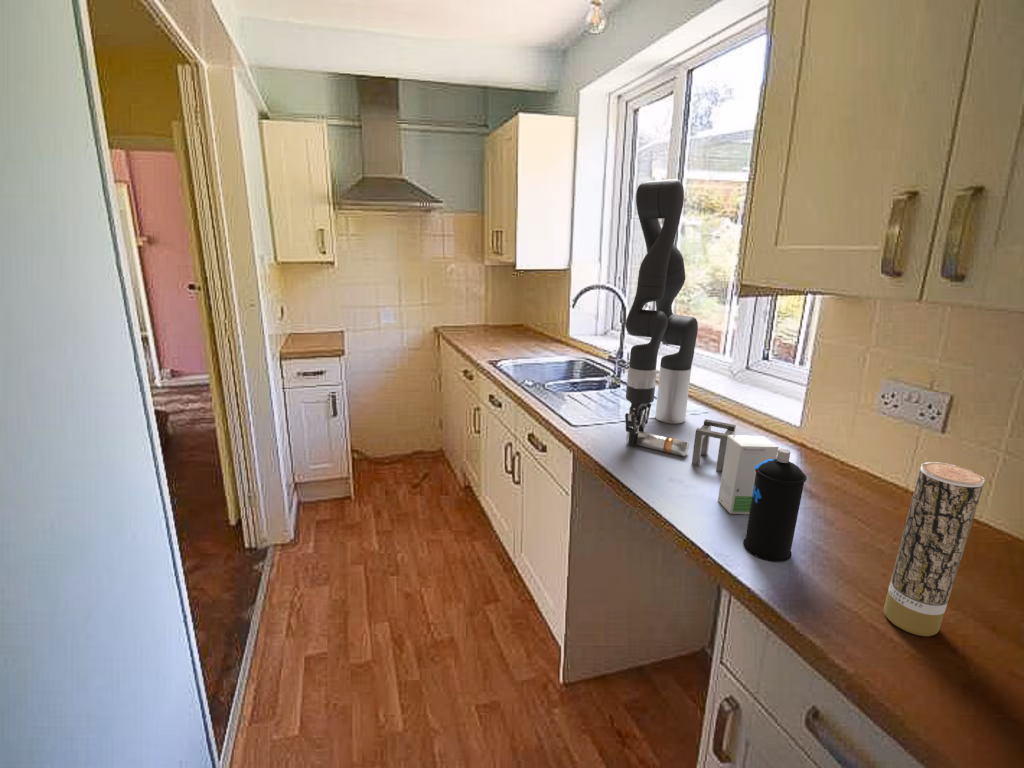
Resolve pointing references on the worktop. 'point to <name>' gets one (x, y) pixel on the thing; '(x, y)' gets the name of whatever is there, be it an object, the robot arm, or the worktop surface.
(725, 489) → the skincare box
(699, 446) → the frame
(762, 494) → the aerosol can
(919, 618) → the paper tube
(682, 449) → the silver cosmetic tube
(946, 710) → the worktop surface
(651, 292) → the robot arm
